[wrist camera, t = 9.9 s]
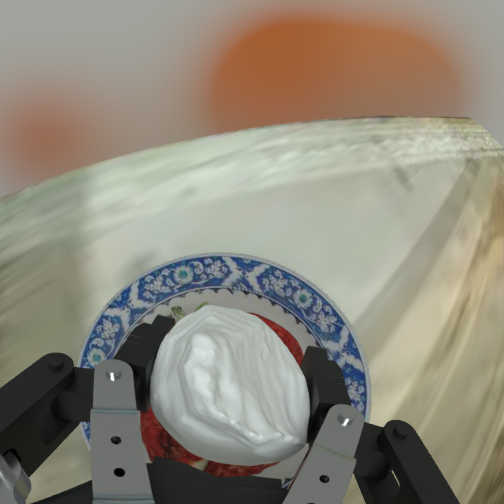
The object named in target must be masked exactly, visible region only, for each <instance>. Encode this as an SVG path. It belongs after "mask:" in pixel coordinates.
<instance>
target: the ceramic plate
mask: <svg viewBox="0 0 504 504" xmlns="http://www.w3.org/2000/svg"><path fill="white" fill-rule="evenodd" d="M205 305H216V306H221V307H225V308H230V309H237V310H241V311H243V312H246V313H249V314H252V315H255V316H256V317H258V318H260V319H261V320H262V321H263V322H264V323H265V324H266V325H267V326H269V327H270V328H271V329H272V330H273V331H274V332H275V333H276V334H277V336H278V337H279V338H280V339H281V340H282V342H283V343H284V344H285V345H286V346H287V348H288V350H289V351H290V353H291V354H292V355H293V357H294V358H295V360H296V362H297V364H298V365H299V367H300V365H301V362H302V359H303V356H304V354H305V351H306V348H307V347H308V346H315V347H321V348H325V349H326V352H327V356H328V360H332V361H335V362H336V363H337V364H338V365H339V366H340V368H341V369H342V373H343V376H344V380H345V383H346V384H345V385H346V387H347V390H348V394H349V397H350V401H351V405H352V407H354V408H356V409H357V410H359V411H360V412H361V414H362V415H363V417H364V421H365V422H367V423H369V419H370V412H371V380H370V374H369V368H368V364H367V360H366V357H365V353H364V351H363V348H362V346H361V343H360V341H359V338H358V336H357V335H356V333H355V331H354V329H353V327H352V325H351V324H350V322H349V321H348V319H347V318H346V316H345V315H344V314H343V312H342V311H341V310H340V308H339V307H338V306H337V305H336V303H335V302H334V301H333V300H332V299H331V298H330V297H329V296H328V295H327V294H325V293H324V292H323V291H322V290H321V289H320V288H319V287H317V286H316V285H315V284H313V283H312V282H311V281H309V280H308V279H306V278H305V277H304V276H302V275H300V274H298V273H297V272H295V271H293V270H291V269H289V268H287V267H285V266H283V265H280V264H277V263H275V262H272V261H269V260H267V259H263V258H259V257H255V256H250V255H244V254H236V253H203V254H196V255H190V256H184V257H181V258H177V259H174V260H171V261H169V262H166V263H163V264H161V265H158V266H156V267H154V268H152V269H150V270H148V271H146V272H145V273H143V274H141V275H140V276H138V277H136V278H135V279H133V280H132V281H131V282H129V283H128V284H127V285H126V286H124V287H123V288H122V289H121V290H120V291H119V292H118V293H116V294H115V296H114V297H113V298H112V299H111V300H110V301H109V302H108V303H107V304H106V305H105V306H104V308H103V309H102V311H101V312H100V313H99V315H98V316H97V318H96V320H95V321H94V323H93V325H92V326H91V328H90V330H89V332H88V334H87V337H86V339H85V341H84V344H83V347H82V350H81V353H80V356H79V361H78V365H77V367H80V368H91V369H93V368H95V367H96V366H97V364H99V363H100V362H102V361H104V360H109V359H113V357H114V356H115V354H116V353H117V352H118V350H119V349H120V347H121V346H122V345H123V343H124V342H125V341H126V339H127V338H128V336H129V335H130V333H131V332H132V331H133V329H134V328H135V327H136V326H138V325H140V324H142V323H144V322H145V323H148V324H152V322H153V321H154V319H155V318H156V316H157V315H158V314H159V315H163V316H167V317H171V318H175V325H176V323H177V322H178V321H179V320H181V319H182V318H183V317H185V316H187V315H188V314H190V313H193V312H196V311H198V310H199V309H201V308H202V307H203V306H205ZM138 416H139V424H140V431H141V437H142V443H143V449H144V455H145V461H146V463H153V460H154V457H155V456H159V457H163V458H166V459H170V460H174V461H178V462H182V463H186V464H188V465H190V466H193V467H195V468H197V469H199V470H202V471H204V472H206V473H209V474H211V475H214V476H217V477H232V476H258V477H267V478H277V479H282V488H286V489H287V488H288V486H289V484H290V483H291V481H292V479H293V477H294V475H295V474H296V472H297V470H298V468H299V466H300V464H301V462H302V460H303V459H304V457H305V455H306V453H307V451H308V449H309V444H307V443H306V445H305V447H304V448H303V449H301V450H300V451H299V452H298V453H296V454H295V455H293V456H292V457H290V458H287V459H286V460H283V461H280V462H275V463H270V464H260V465H254V466H242V465H233V464H224V463H219V462H215V461H210V460H207V459H204V458H201V457H199V456H196V455H194V454H192V453H191V452H189V451H188V450H186V449H185V448H184V447H183V446H182V445H181V444H180V443H179V442H178V441H176V440H175V439H174V438H173V437H172V436H171V435H170V434H169V433H168V432H167V430H166V429H165V428H164V427H163V426H162V424H161V423H160V422H159V421H158V420H157V418H156V417H155V415H154V413H153V410H152V407H151V404H150V406H149V408H148V411H147V413H146V412H143V411H138ZM79 425H80V428H81V431H82V434H83V437H84V440H85V442H86V445H87V447H88V449H89V451H90V453H91V445H90V423H89V422H81V423H80V424H79Z"/></svg>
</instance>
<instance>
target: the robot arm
mask: <svg viewBox="0 0 504 504" xmlns="http://www.w3.org/2000/svg"><path fill="white" fill-rule="evenodd" d="M174 326H175V318H171V317H167V316H163V315H159V314H158V315H157V316H156V318H155V319H154V321H153V322H152V324H148V323H145V322H144V323H142V324H140V325H138V326H136V327H135V328H134V329H133V331H132V332H131V333H130V335H129V336H128V338H127V339H126V341H125V342H124V343H123V345H122V346H121V347H120V349H119V350H118V352H117V353H116V354H115V356H114V357H113V359H109V360H104V361H102V362H100V363H99V364H97V366H96V367H95V368H93V369H91V368H80V367H74V363H73V360H72V359H71V358H70V357H69V356H67V355H65V354H63V353H49V354H47V355H45V356H43V357H42V358H40V359H39V360H37V361H36V362H35V363H33V364H32V365H31V366H29V367H28V368H27V369H25V370H24V371H23V372H21V373H20V374H19V375H17V376H16V377H15V378H13V379H12V380H11V381H9V382H8V383H7V384H5V385H4V386H3V387H1V388H0V504H25V502H26V499H27V498H28V495H29V493H30V491H31V482H30V479H29V477H30V476H31V475H32V474H33V473H34V472H35V471H36V470H37V468H38V467H39V466H40V465H41V464H42V463H43V462H44V461H45V460H46V459H47V458H48V457H49V456H50V455H51V454H52V453H53V451H54V450H55V449H56V448H57V447H58V446H59V445H60V444H61V443H62V442H63V441H64V440H65V439H66V438H67V437H68V436H69V434H70V433H71V432H72V431H73V430H74V429H75V428H76V427H77V426H78V425H79V424H80V423H81V422H89V423H90V445H91V471H92V480H90V481H88V482H86V483H83V484H81V485H79V486H76V487H74V488H71V489H69V490H66V491H64V492H61V493H59V494H56V495H53V496H51V497H48V498H45V499H43V500H40V501H37V502H34V503H31V504H342V501H343V499H344V496H345V493H346V491H347V488H348V485H349V482H350V479H351V476H352V474H354V475H355V478H356V481H357V483H358V485H359V488H360V490H361V493H362V495H363V498H364V500H365V503H366V504H460V503H459V501H458V500H457V498H456V496H455V495H454V493H453V491H452V489H451V488H450V486H449V484H448V483H447V481H446V479H445V478H444V476H443V475H442V473H441V471H440V470H439V468H438V466H437V465H436V463H435V461H434V460H433V458H432V457H431V455H430V453H429V452H428V450H427V449H426V447H425V445H424V444H423V442H422V441H421V439H420V437H419V436H418V434H417V433H416V431H415V430H414V428H413V427H412V426H411V425H409V424H408V423H406V422H404V421H401V420H391V421H389V422H387V423H386V425H385V426H384V428H383V427H380V426H376V425H373V424H369V423H367V422H365V421H364V417H363V415H362V414H361V412H360V411H359V410H357V409H356V408H354V407H352V405H351V401H350V397H349V394H348V390H347V387H346V385H345V384H346V383H345V380H344V376H343V373H342V369H341V368H340V366H339V365H338V364H337V363H336V362H335V361H332V360H328V356H327V352H326V349H325V348H321V347H315V346H308V347H307V348H306V351H305V354H304V356H303V359H302V362H301V365H300V369H301V371H302V373H303V375H304V377H305V379H306V383H307V388H308V392H309V398H310V417H309V423H308V430H307V440H306V443H307V444H309V449H308V451H307V453H306V455H305V457H304V459H303V460H302V462H301V464H300V466H299V468H298V470H297V472H296V474H295V475H294V477H293V479H292V481H291V483H290V484H289V486H288V488H287V489H286V488H282V479H277V478H267V477H258V476H232V477H217V476H214V475H211V474H209V473H206V472H204V471H202V470H199V469H197V468H195V467H193V466H190V465H188V464H186V463H182V462H178V461H174V460H170V459H166V458H163V457H159V456H155V457H154V460H153V463H146V461H145V455H144V449H143V443H142V437H141V431H140V424H139V416H138V411H143V412H146V413H147V411H148V408H149V406H150V378H151V375H152V371H153V367H154V362H155V360H156V357H157V353H158V350H159V347H160V345H161V343H162V341H163V339H164V338H165V336H166V335H167V334H168V333H169V332H170V330H171V329H172V328H173V327H174ZM392 470H393V471H394V473H395V475H396V477H397V479H398V481H399V484H400V487H399V485H398V483H397V481H396V479H395V477H394V475H393V473H392Z"/></svg>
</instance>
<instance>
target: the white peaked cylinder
mask: <svg viewBox="0 0 504 504" xmlns="http://www.w3.org/2000/svg"><path fill="white" fill-rule="evenodd" d="M150 404H151V407H152V410H153V413H154V415H155V417H156V418H157V420H158V421H159V422H160V423H161V424H162V426H163V427H164V428H165V429H166V430H167V432H168V433H169V434H170V435H171V436H172V437H173V438H174V439H175V440H176V441H178V442H179V443H180V444H181V445H182V446H183V447H184V448H185V449H186V450H188V451H189V452H191V453H192V454H194V455H196V456H199V457H201V458H204V459H207V460H210V461H215V462H219V463H224V464H233V465H242V466H254V465H260V464H270V463H275V462H280V461H283V460H286V459H287V458H290V457H292V456H293V455H295V454H296V453H298V452H299V451H300V450H301V449H303V448H304V447H305V445H306V440H307V430H308V423H309V417H310V398H309V392H308V388H307V383H306V379H305V377H304V375H303V373H302V371H301V369H300V367H299V365H298V364H297V362H296V360H295V358H294V357H293V355H292V354H291V353H290V351H289V350H288V348H287V346H286V345H285V344H284V343H283V342H282V340H281V339H280V338H279V337H278V336H277V334H276V333H275V332H274V331H273V330H272V329H271V328H270V327H269V326H267V325H266V324H265V323H264V322H263V321H262V320H261V319H260V318H258V317H256V316H255V315H252V314H249V313H246V312H243V311H241V310H237V309H230V308H225V307H221V306H216V305H205V306H203V307H202V308H201V309H199V310H198V311H196V312H193V313H190V314H188V315H187V316H185V317H183V318H182V319H181V320H179V321H178V322H177V323H176V325H175V326H174V327H173V328H172V329H171V330H170V332H169V333H168V334H167V335H166V336H165V338H164V339H163V341H162V343H161V345H160V347H159V350H158V353H157V357H156V360H155V362H154V367H153V371H152V375H151V378H150Z"/></svg>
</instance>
